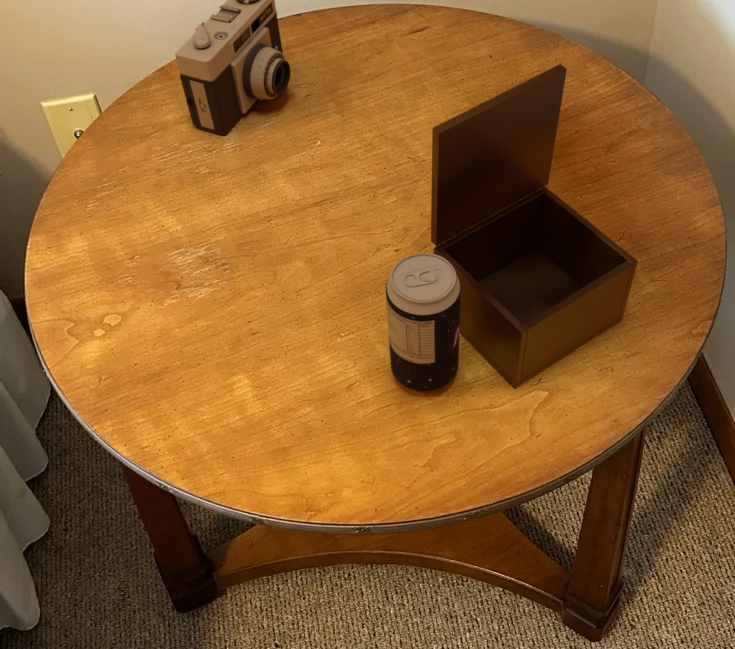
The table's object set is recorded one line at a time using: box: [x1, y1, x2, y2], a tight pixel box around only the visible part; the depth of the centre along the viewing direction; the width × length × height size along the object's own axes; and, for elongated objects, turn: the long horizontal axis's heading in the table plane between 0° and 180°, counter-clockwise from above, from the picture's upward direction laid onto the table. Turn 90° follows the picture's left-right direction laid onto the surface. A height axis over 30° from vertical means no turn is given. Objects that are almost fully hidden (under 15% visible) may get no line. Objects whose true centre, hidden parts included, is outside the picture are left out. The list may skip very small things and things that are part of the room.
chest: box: [433, 186, 639, 389], centre depth 74 cm, size 11×12×8 cm
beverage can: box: [385, 252, 461, 393], centre depth 69 cm, size 6×6×12 cm
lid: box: [430, 63, 568, 247], centre depth 69 cm, size 12×12×1 cm
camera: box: [174, 0, 291, 137], centre depth 94 cm, size 14×8×10 cm, turn 154°
